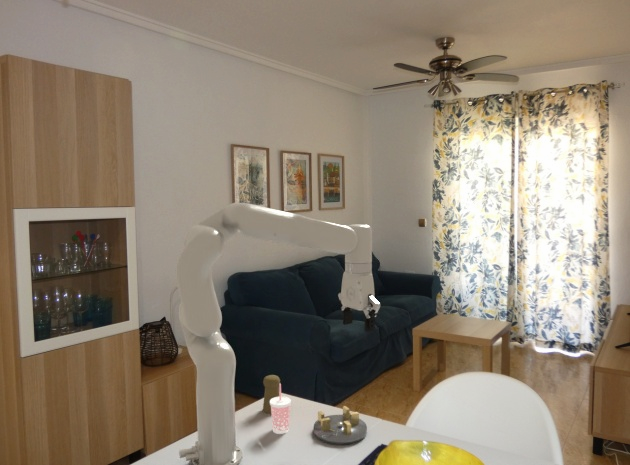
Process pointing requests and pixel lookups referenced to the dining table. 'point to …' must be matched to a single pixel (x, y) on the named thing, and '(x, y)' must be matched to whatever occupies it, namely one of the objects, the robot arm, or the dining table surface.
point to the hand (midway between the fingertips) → (358, 327)
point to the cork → (270, 391)
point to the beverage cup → (280, 413)
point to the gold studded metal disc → (340, 428)
